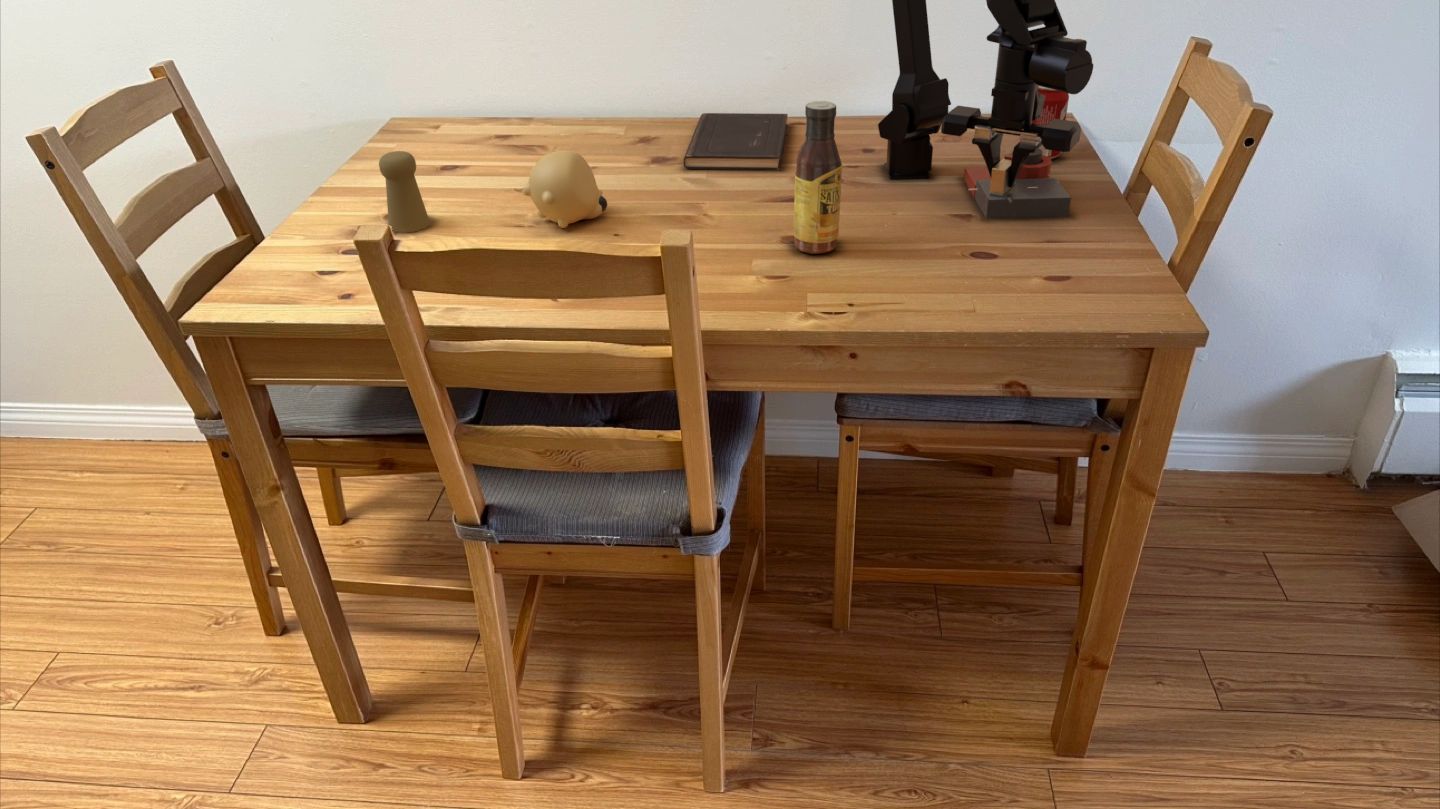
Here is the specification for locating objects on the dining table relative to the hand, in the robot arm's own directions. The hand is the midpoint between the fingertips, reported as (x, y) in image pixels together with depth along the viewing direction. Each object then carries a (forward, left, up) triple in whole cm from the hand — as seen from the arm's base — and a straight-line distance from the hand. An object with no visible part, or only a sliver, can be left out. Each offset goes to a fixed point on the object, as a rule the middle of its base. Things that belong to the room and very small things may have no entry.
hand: (1003, 185), depth 156 cm
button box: (+3, +9, -4) cm, 10 cm away
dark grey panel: (+2, 0, -4) cm, 4 cm away
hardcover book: (-39, +31, -4) cm, 50 cm away
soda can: (+11, +22, -4) cm, 25 cm away
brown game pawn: (-89, 0, -4) cm, 89 cm away
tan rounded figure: (-65, 0, -4) cm, 65 cm away
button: (+6, +9, 0) cm, 11 cm away
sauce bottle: (-29, -12, -4) cm, 31 cm away
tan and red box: (0, 0, -1) cm, 1 cm away
